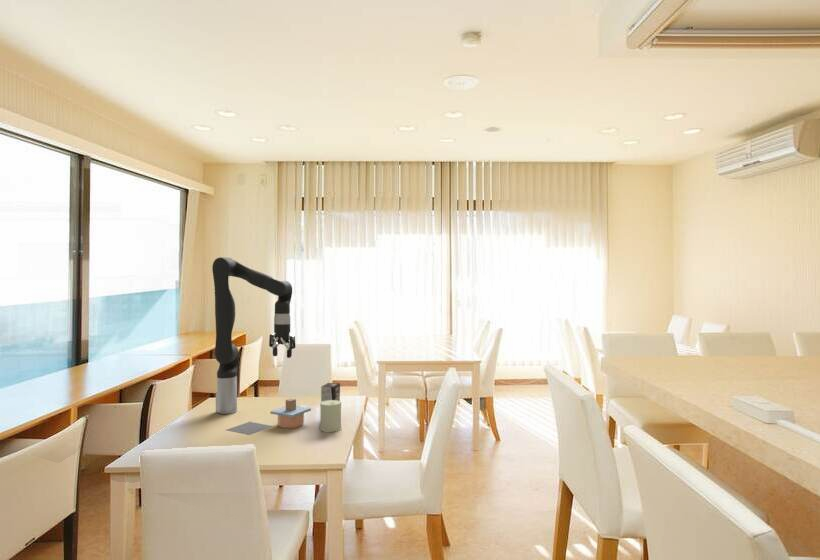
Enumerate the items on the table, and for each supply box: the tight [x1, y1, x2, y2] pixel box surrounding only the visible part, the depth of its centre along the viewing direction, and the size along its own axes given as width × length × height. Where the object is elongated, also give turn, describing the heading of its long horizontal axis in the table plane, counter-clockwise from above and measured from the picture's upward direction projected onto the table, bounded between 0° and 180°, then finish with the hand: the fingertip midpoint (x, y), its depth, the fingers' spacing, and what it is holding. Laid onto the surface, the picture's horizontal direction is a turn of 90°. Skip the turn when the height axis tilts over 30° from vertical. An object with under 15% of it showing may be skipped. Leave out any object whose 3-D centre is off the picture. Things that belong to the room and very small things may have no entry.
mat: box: [226, 421, 273, 436], centre depth 224 cm, size 14×14×1 cm
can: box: [319, 400, 342, 433], centre depth 224 cm, size 9×9×12 cm
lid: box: [269, 398, 312, 417], centre depth 229 cm, size 12×12×6 cm
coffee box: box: [320, 382, 341, 403], centre depth 239 cm, size 9×6×16 cm
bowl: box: [277, 413, 305, 429], centre depth 229 cm, size 11×11×6 cm
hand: (282, 356), depth 245 cm, fingers open, 8 cm apart
